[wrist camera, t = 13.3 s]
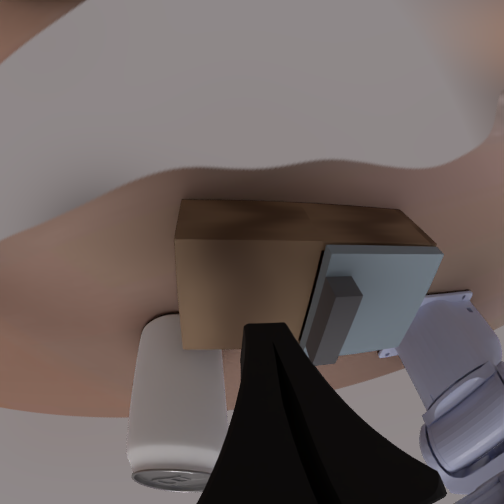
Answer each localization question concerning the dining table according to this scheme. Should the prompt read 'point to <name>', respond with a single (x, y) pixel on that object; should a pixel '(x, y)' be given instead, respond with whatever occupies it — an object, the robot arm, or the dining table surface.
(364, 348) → the cover
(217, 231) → the brown rectangular box
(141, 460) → the can
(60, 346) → the dining table surface
